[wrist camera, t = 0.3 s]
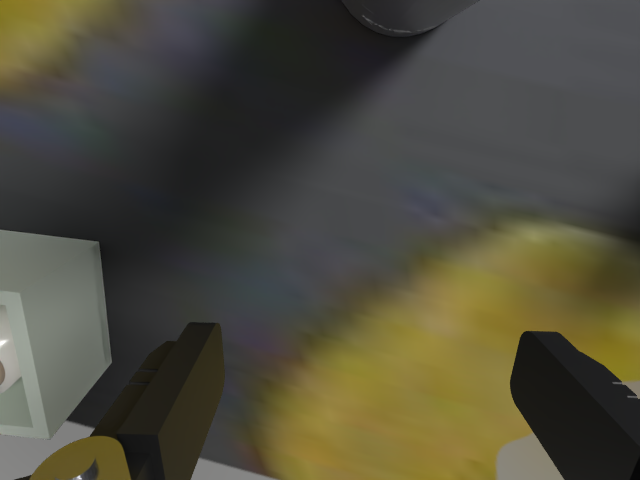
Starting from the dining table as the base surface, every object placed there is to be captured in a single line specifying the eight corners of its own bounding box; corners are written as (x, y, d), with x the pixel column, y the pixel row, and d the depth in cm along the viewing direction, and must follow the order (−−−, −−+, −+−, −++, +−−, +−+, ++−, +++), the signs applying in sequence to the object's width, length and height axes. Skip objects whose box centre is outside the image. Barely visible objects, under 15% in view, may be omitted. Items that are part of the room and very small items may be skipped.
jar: (13, 276, 29) (-92, 337, 22) (76, 284, 29) (-6, 347, 22) (24, 328, 31) (-70, 401, 23) (84, 335, 31) (9, 409, 24)
